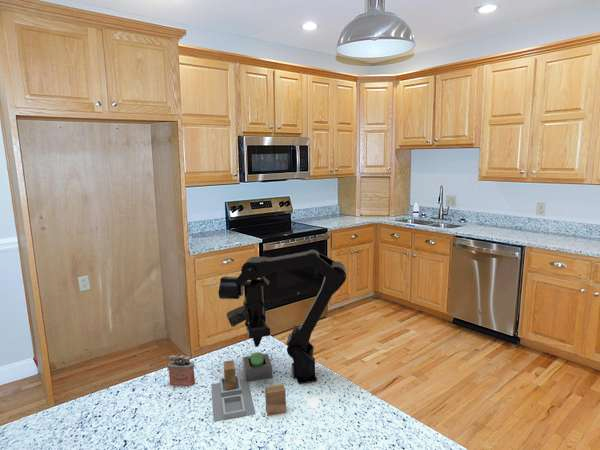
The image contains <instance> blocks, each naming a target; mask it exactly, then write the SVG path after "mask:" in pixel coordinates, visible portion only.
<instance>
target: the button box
mask: <svg viewBox="0 0 600 450" xmlns="http://www.w3.org/2000/svg"><path fill="white" fill-rule="evenodd" d="M262 354H263V360H264V365H258V366H251V355H248V356H243V357H242V360H243V362H242V363H243V364H242V365H243V372H244V376H245V379H246V381H247V382H248V383H249V382H255V381H262V380H267V379H273V365H272V362H271V359H270V357H269V354H268V353H262Z"/></svg>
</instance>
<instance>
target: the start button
mask: <svg viewBox="0 0 600 450" xmlns="http://www.w3.org/2000/svg"><path fill="white" fill-rule="evenodd" d="M263 354H264V353H262V352H257V351H256V352H253V353H251V354H250V356H251V366H258V365H264V360H263Z"/></svg>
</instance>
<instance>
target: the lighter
mask: <svg viewBox="0 0 600 450" xmlns="http://www.w3.org/2000/svg"><path fill="white" fill-rule="evenodd" d="M168 359H169V362H168V363H167V368H168V377H169V385H170V386H173V387H189V386H190V387H192V386H194V385H195V384H196V383H195V382H196V380H195V379H196V378H195V369H194V367H195V363H194V361H190V359H191V358H190V356H185V355H184V354H180V356H179V355H170V356H169V358H168Z"/></svg>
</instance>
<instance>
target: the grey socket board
mask: <svg viewBox="0 0 600 450" xmlns="http://www.w3.org/2000/svg"><path fill="white" fill-rule="evenodd" d="M235 376H236V389H234V390H228V391H226V389H225V378H224V377H219V382H215V383H211V385H210V386H211V387H210V388H211V403H212V418H213V420H212V421H213V423H217V422H221V421H222V422H223V421H227V420H232V419H233V420H234V419H238V418H245V417H250V416H254V415H256V409H255V405H254V401H253V396H252V391H251V388H250V384H249V382H247V381H246V378H242V379H240V375H235Z"/></svg>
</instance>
